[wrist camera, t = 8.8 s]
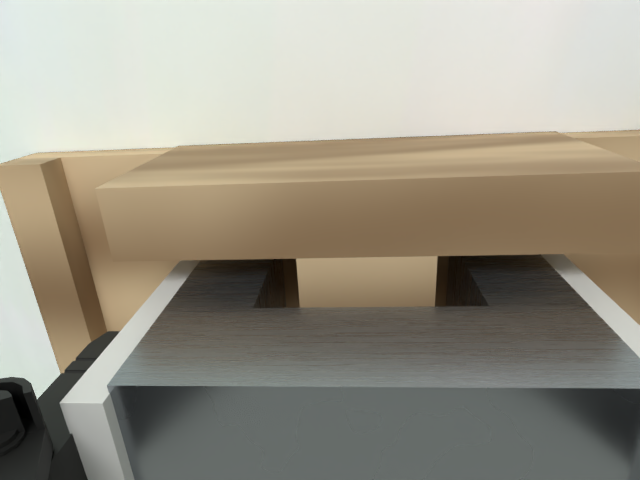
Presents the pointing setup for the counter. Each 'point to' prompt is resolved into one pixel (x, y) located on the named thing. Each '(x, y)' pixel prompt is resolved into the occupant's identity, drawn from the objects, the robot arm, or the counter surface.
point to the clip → (381, 382)
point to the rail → (319, 218)
